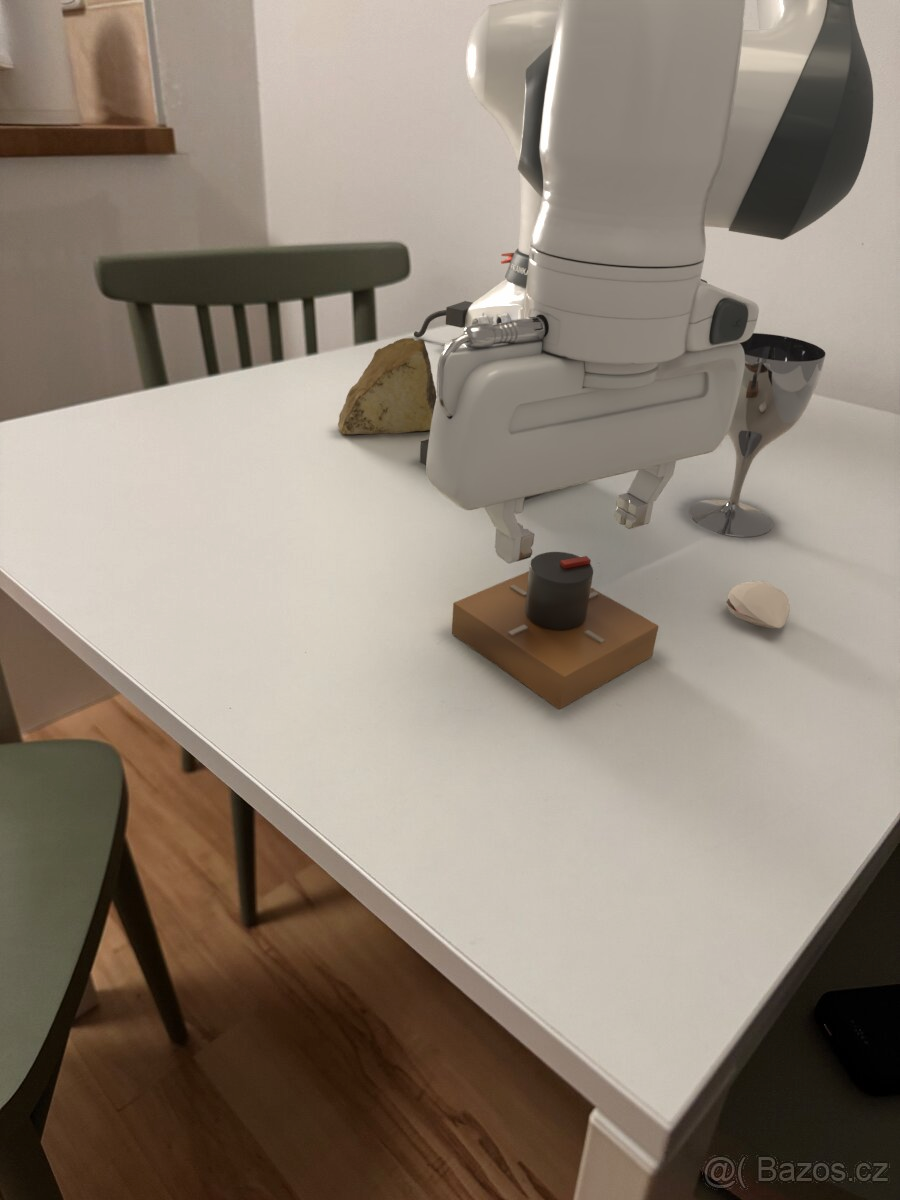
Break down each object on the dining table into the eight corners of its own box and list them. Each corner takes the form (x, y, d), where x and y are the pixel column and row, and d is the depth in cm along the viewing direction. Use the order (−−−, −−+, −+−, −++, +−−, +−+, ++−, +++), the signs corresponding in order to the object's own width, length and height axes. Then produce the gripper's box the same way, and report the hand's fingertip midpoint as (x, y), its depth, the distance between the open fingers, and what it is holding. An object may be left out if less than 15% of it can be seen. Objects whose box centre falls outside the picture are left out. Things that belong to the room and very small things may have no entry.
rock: (321, 423, 82) (421, 419, 80) (325, 338, 83) (423, 333, 81) (354, 453, 93) (442, 451, 91) (356, 378, 94) (444, 374, 92)
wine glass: (666, 504, 76) (700, 335, 68) (737, 493, 78) (778, 330, 70) (720, 544, 69) (765, 364, 61) (796, 531, 72) (848, 357, 64)
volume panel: (451, 633, 57) (453, 600, 55) (543, 592, 62) (547, 560, 60) (559, 709, 50) (564, 674, 49) (652, 656, 55) (659, 623, 54)
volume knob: (543, 635, 52) (550, 583, 50) (513, 603, 56) (519, 552, 53) (597, 623, 54) (606, 572, 52) (566, 592, 57) (573, 543, 55)
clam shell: (769, 602, 62) (778, 573, 61) (803, 641, 58) (813, 610, 57) (715, 605, 61) (722, 575, 60) (745, 644, 57) (754, 613, 56)
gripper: (478, 346, 37) (461, 607, 45) (780, 306, 47) (725, 526, 54) (407, 312, 42) (402, 555, 49) (697, 282, 51) (656, 489, 59)
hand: (574, 539), depth 52 cm, fingers open, 8 cm apart
